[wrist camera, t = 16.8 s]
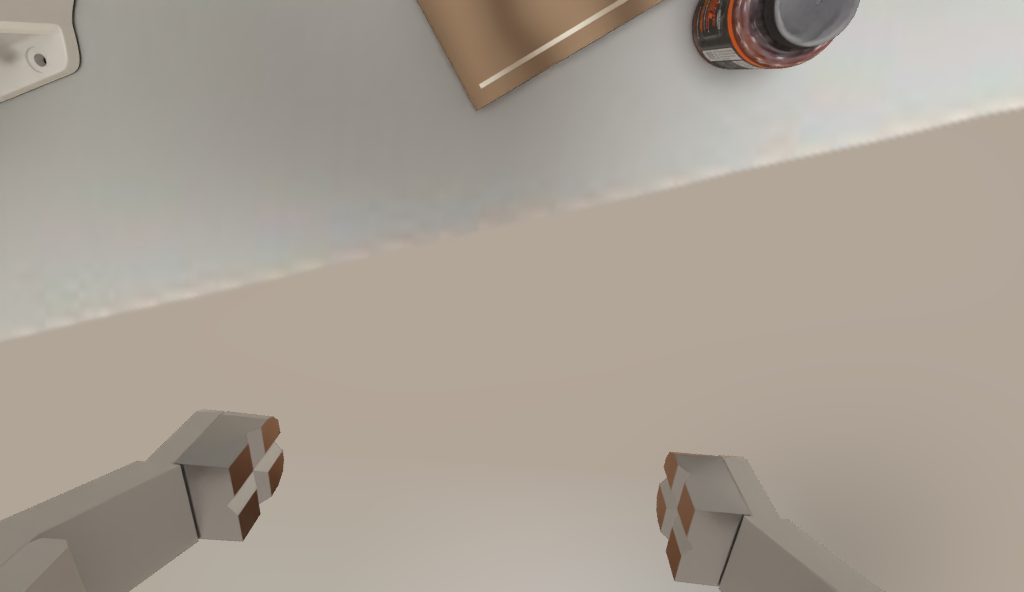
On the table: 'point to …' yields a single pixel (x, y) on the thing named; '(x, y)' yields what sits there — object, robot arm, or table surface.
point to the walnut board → (519, 36)
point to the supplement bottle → (768, 30)
